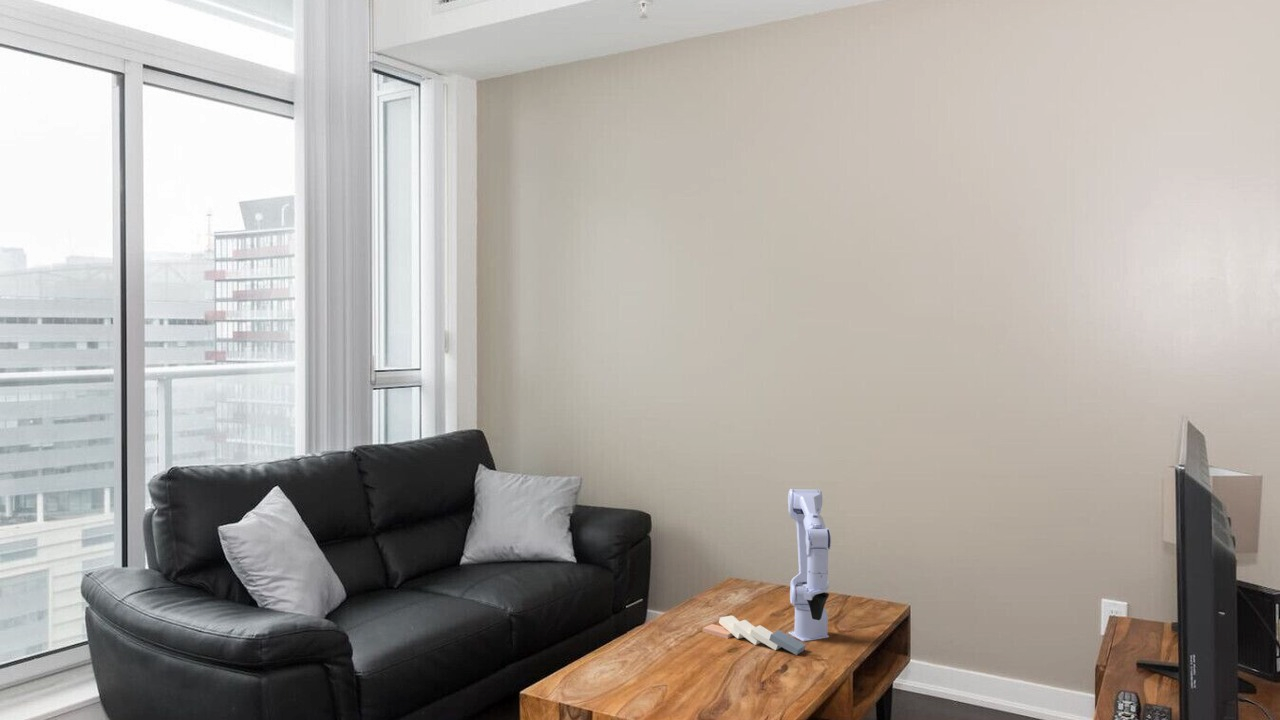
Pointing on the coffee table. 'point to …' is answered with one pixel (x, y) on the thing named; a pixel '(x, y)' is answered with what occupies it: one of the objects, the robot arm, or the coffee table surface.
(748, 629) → the domino
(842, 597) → the coffee table surface
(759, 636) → the domino
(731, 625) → the domino
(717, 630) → the domino
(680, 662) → the coffee table surface
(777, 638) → the domino
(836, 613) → the coffee table surface
